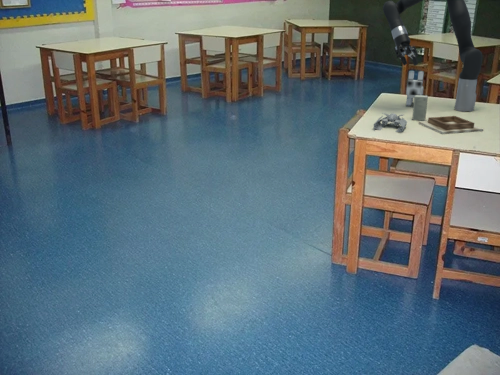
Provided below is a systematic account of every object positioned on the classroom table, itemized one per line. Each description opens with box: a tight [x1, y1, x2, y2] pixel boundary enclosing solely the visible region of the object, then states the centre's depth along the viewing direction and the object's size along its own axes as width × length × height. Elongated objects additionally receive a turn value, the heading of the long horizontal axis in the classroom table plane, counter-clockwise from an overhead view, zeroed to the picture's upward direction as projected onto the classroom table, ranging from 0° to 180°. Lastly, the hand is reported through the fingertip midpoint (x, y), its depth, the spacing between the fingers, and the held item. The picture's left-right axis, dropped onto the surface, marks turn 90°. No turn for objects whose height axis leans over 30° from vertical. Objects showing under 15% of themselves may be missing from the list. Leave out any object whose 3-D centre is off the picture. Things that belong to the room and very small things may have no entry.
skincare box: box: [412, 94, 429, 122], centre depth 267 cm, size 6×4×12 cm
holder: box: [418, 115, 484, 135], centre depth 254 cm, size 22×20×4 cm
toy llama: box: [405, 70, 425, 107], centre depth 297 cm, size 8×18×20 cm, turn 157°
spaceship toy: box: [373, 112, 408, 133], centre depth 253 cm, size 14×20×6 cm
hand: (410, 64), depth 272 cm, fingers open, 8 cm apart
